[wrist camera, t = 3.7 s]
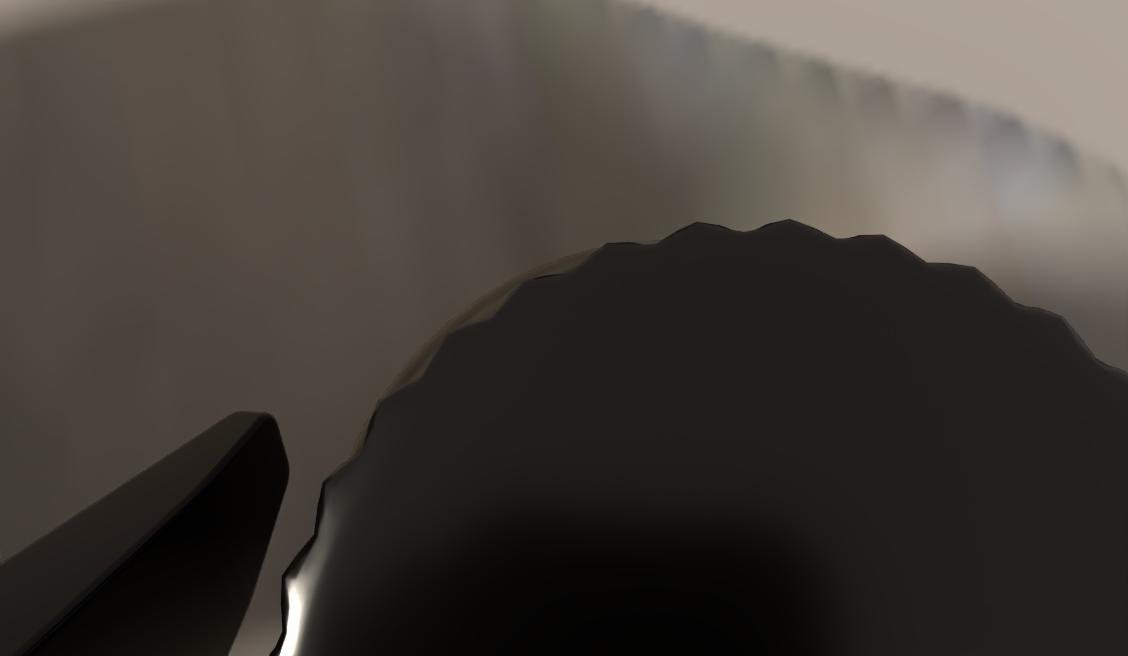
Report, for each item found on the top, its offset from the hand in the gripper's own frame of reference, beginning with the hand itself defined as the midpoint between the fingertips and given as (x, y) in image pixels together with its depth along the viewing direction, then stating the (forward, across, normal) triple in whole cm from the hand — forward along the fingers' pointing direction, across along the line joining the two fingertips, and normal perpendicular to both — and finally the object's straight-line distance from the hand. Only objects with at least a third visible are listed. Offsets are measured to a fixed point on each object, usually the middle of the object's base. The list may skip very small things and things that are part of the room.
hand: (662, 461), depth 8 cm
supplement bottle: (+4, 0, +6) cm, 7 cm away
